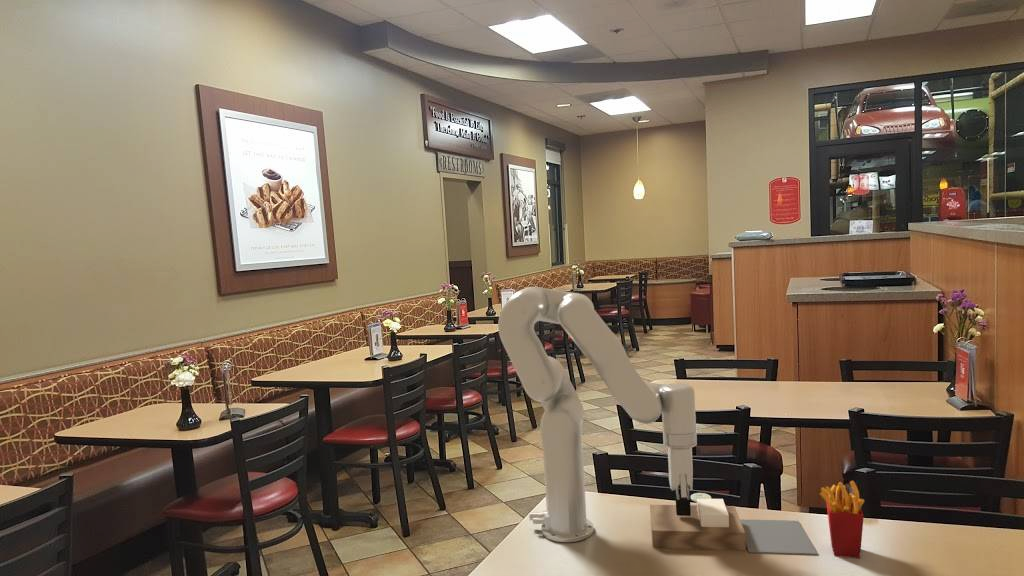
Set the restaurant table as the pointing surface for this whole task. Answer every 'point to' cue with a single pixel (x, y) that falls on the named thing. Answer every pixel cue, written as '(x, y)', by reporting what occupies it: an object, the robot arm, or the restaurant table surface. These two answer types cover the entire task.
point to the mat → (776, 537)
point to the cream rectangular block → (712, 513)
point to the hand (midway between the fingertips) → (683, 514)
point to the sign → (700, 496)
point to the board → (694, 530)
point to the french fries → (844, 520)
